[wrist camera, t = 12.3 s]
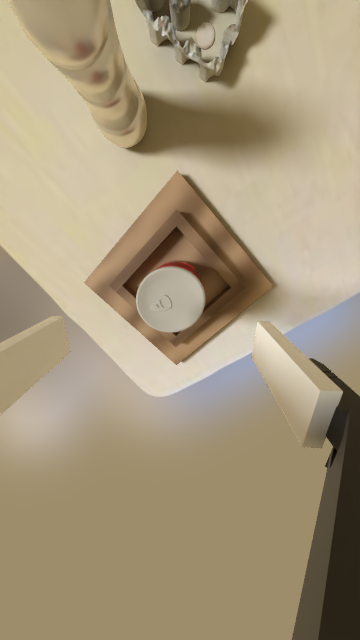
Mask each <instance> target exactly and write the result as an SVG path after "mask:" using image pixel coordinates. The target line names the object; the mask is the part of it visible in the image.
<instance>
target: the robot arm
mask: <svg viewBox="0 0 360 640" xmlns="http://www.w3.org/2000/svg"><path fill="white" fill-rule="evenodd" d="M69 353H70V347H69V342H68V338H67V333H66V328H65V324H64V319H63V317H62V316H52V317H50V318H48V319H46V320H44V321H42V322H40V323H38V324H36V325H34V326H32V327H30V328H28V329H26V330H25V331H23V332H21V333H19V334H17V335H15V336H13V337H11V338H9V339H7V340H5V341H3V342H1V343H0V415H1V414H2V413H3V412H4V411H5V410H6V409H8V408H9V407H10V406H11V405H12V404H13V403H14V402H15V401H16V400H18V399H19V398H20V397H21V396H22V395H23V394H24V393H25V392H27V391H28V390H29V389H30V388H31V387H32V386H33V385H34V384H35V383H37V382H38V381H39V380H40V379H41V378H42V377H43V376H44V375H45V374H47V373H48V372H49V371H50V370H51V369H52V368H53V367H54V366H55V365H56V364H58V363H59V362H60V361H61V360H62V359H63V358H64V357H65V356H66V355H68V354H69ZM252 359H253V361H254V362H255V364H256V366H257V368H258V369H259V371H260V373H261V375H262V377H263V379H264V380H265V382H266V384H267V386H268V387H269V389H270V391H271V393H272V395H273V396H274V398H275V400H276V402H277V403H278V405H279V407H280V409H281V411H282V412H283V414H284V416H285V418H286V420H287V421H288V423H289V425H290V427H291V428H292V430H293V432H294V434H295V436H296V437H297V439H298V441H299V443H300V444H301V446H302V447H311V448H322V446H323V444H324V441H325V438H326V437H327V438H328V440H329V441H330V442H331V444H332V445H333V448H332V451H331V453H330V456H329V458H328V461H327V463H326V465H325V467H327V473H326V478H325V482H324V488H323V492H322V497H321V502H320V507H319V511H318V516H317V521H316V526H315V531H314V535H313V540H312V545H311V550H310V555H309V560H308V565H307V569H306V574H305V579H304V584H303V589H302V594H301V598H300V603H299V608H298V613H297V617H296V622H295V627H294V633H293V637H292V640H360V397H359V395H357V394H356V393H355V392H354V391H353V390H352V389H351V388H350V387H348V386H347V385H346V384H345V383H344V382H343V381H342V380H340V379H339V378H338V377H337V376H336V375H335V374H334V373H331V371H330V370H329V369H328V368H327V367H326V366H325V365H324V364H322V363H320V362H318V361H316V360H314V359H309V358H307V357H306V356H305V355H304V354H303V353H302V352H301V351H300V350H299V349H298V348H297V347H296V346H294V344H293V343H291V342H290V341H289V340H288V339H287V338H286V337H285V336H284V335H283V334H282V333H281V332H280V331H279V330H278V329H277V328H276V327H275V326H274V325H272V324H271V323H270V322H268V321H258V322H257V328H256V334H255V340H254V346H253V353H252Z"/></svg>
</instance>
